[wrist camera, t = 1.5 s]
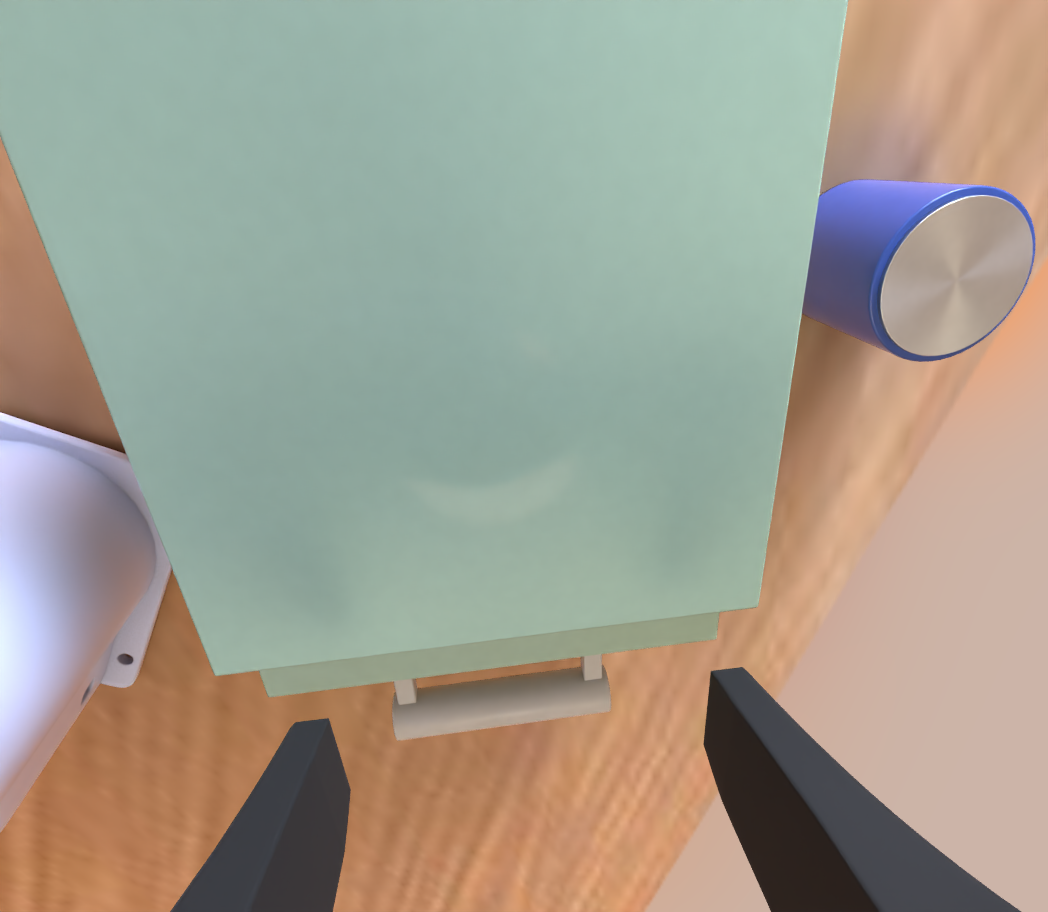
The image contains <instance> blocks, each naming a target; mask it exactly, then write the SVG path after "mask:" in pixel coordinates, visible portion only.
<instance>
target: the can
mask: <svg viewBox="0 0 1048 912" xmlns="http://www.w3.org/2000/svg"><path fill="white" fill-rule="evenodd" d="M1034 256H1035V233H1034V227H1033V224H1032V220H1031V218H1030V216H1029V214H1028V212H1027V210H1026V209H1025V207H1024V206H1023V205H1022V203H1021V202H1020V201H1019V200H1017V199H1016V198H1015V197H1014V196H1013V195H1011V194H1010V193H1008V192H1006V191H1004V190H1002V189H999V188H996V187H991V186H984V185H965V184H945V183H926V182H906V181H887V180H854V181H849V182H846V183H843V184H840V185H838V186H836V187H833V188H832V189H830V190H828V191H827V192H825V193H824V194H822V195H821V196H820V197H819V200H818V206H817V213H816V220H815V227H814V233H813V240H812V247H811V253H810V260H809V267H808V274H807V280H806V287H805V294H804V301H803V307H802V313H803V314H804V315H806V316H808V317H810V318H812V319H814V320H817V321H819V322H821V323H823V324H826V325H828V326H830V327H832V328H835V329H837V330H839V331H841V332H844V333H846V334H848V335H851V336H853V337H855V338H857V339H860V340H862V341H864V342H866V343H869V344H871V345H873V346H876V347H878V348H880V349H882V350H885V351H887V352H889V353H891V354H894V355H896V356H898V357H901V358H903V359H907V360H911V361H919V362H923V361H935V360H941V359H945V358H948V357H952V356H954V355H956V354H959V353H961V352H963V351H965V350H967V349H969V348H971V347H972V346H974V345H975V344H977V343H979V342H980V341H982V340H983V339H984V338H985V337H986V336H988V335H989V334H990V333H991V332H992V331H993V330H994V329H996V328H997V327H998V326H999V325H1000V324H1001V322H1002V321H1003V320H1004V319H1005V318H1006V317H1007V316H1008V314H1009V313H1010V312H1011V310H1012V309H1013V307H1014V306H1015V305H1016V303H1017V301H1018V300H1019V298H1020V296H1021V295H1022V293H1023V290H1024V288H1025V286H1026V284H1027V282H1028V279H1029V276H1030V274H1031V270H1032V266H1033V262H1034Z"/></svg>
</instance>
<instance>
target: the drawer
mask: <svg viewBox="0 0 1048 912" xmlns="http://www.w3.org/2000/svg"><path fill="white" fill-rule="evenodd" d="M718 621H719V612H718V613H710V614H702V615H694V616H686V617H678V618H670V619H662V620H654V621H647V622H639V623H631V624H623V625H615V626H607V627H599V628H591V629H584V630H576V631H568V632H560V633H552V634H544V635H536V636H528V637H520V638H513V639H505V640H497V641H489V642H481V643H473V644H465V645H457V646H450V647H442V648H434V649H426V650H418V651H410V652H402V653H394V654H386V655H379V656H371V657H363V658H355V659H347V660H339V661H331V662H323V663H316V664H308V665H300V666H292V667H284V668H276V669H268V670H260V671H259V673H260V675H261V678H262V681H263V684H264V687H265V690H266V693H267V695H268V697H277V696H285V695H292V694H300V693H308V692H315V691H323V690H331V689H338V688H346V687H354V686H362V685H369V684H377V683H385V682H392V681H393V682H394V687H395V691H396V692H395V693H394V696H393V706H392V715H393V728H394V734H395V737H396V740H398V741H400V740H407V739H415V738H422V737H429V736H436V735H444V734H451V733H458V732H466V731H473V730H480V729H487V728H495V727H502V726H509V725H516V724H524V723H531V722H538V721H545V720H553V719H560V718H567V717H574V716H582V715H589V714H596V713H603V712H609V711H610V710H611V694H610V687H609V682H608V677H607V673H606V670H605V668H604V666H603V665H602V654H607V653H615V652H622V651H630V650H638V649H645V648H653V647H661V646H668V645H676V644H684V643H692V642H699V641H707V640H715V639H716V638H717V630H718ZM576 657H581V667H577V668H569V669H561V670H554V671H546V672H539V673H531V674H523V675H516V676H508V677H501V678H493V679H485V680H478V681H470V682H463V683H455V684H447V685H440V686H432V687H425V688H417V684H416V678H423V677H431V676H438V675H446V674H454V673H461V672H469V671H477V670H484V669H492V668H500V667H507V666H515V665H523V664H530V663H538V662H546V661H553V660H561V659H569V658H576Z"/></svg>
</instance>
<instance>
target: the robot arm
mask: <svg viewBox="0 0 1048 912" xmlns="http://www.w3.org/2000/svg"><path fill="white" fill-rule="evenodd" d="M171 571H172V567H171V565H170V562H169V560H168V557H167V555H166V552H165V550H164V547H163V545H162V542H161V540H160V537H159V535H158V532H157V529H156V527H155V524H154V522H153V519H152V517H151V514H150V512H149V509H148V507H147V504H146V502H145V499H144V497H143V494H142V492H141V489H140V487H139V484H138V482H137V479H136V477H135V474H134V472H133V469H132V467H131V464H130V462H129V459H128V457H127V454H125V453H122V452H119V451H116V450H112V449H109V448H106V447H103V446H100V445H97V444H94V443H91V442H88V441H85V440H82V439H79V438H76V437H73V436H70V435H67V434H64V433H61V432H58V431H55V430H52V429H49V428H46V427H43V426H40V425H37V424H34V423H31V422H28V421H25V420H22V419H19V418H16V417H13V416H10V415H7V414H4V413H1V412H0V832H1V831H2V830H3V829H4V827H5V826H6V825H7V823H8V822H9V820H10V819H11V817H12V816H13V814H14V813H15V811H16V810H17V808H18V807H19V805H20V804H21V802H22V801H23V799H24V798H25V796H26V795H27V793H28V792H29V790H30V788H31V787H32V785H33V784H34V782H35V781H36V779H37V778H38V776H39V775H40V773H41V772H42V770H43V769H44V767H45V766H46V764H47V763H48V761H49V760H50V758H51V757H52V755H53V754H54V752H55V751H56V749H57V748H58V746H59V745H60V743H61V742H62V740H63V739H64V737H65V736H66V734H67V733H68V731H69V729H70V728H71V726H72V725H73V723H74V722H75V720H76V719H77V717H78V716H79V714H80V713H81V711H82V710H83V708H84V707H85V705H86V704H87V702H88V701H89V699H90V698H91V696H92V695H93V693H94V692H95V690H96V689H97V687H98V686H99V684H100V683H101V684H105V685H110V686H114V687H120V688H124V687H129V686H131V685H132V684H133V683H134V682H135V680H136V678H137V677H138V675H139V672H140V669H141V666H142V663H143V659H144V656H145V653H146V650H147V647H148V644H149V640H150V637H151V634H152V631H153V628H154V625H155V621H156V618H157V615H158V612H159V609H160V606H161V603H162V599H163V596H164V593H165V590H166V587H167V584H168V580H169V577H170V574H171ZM125 654H128V655H130V656H132V657H130V656H127V655H125ZM704 747H705V750H706V753H707V756H708V760H709V763H710V766H711V769H712V772H713V775H714V778H715V781H716V784H717V787H718V790H719V793H720V796H721V799H722V802H723V804H724V806H725V809H726V811H727V813H728V816H729V818H730V820H731V823H732V825H733V827H734V829H735V832H736V834H737V836H738V838H739V841H740V843H741V845H742V847H743V850H744V852H745V854H746V856H747V859H748V861H749V863H750V865H751V868H752V870H753V872H754V874H755V876H756V879H757V881H758V883H759V885H760V888H761V890H762V892H763V894H764V897H765V899H766V901H767V903H768V906H769V908H770V910H771V912H1021V911H1019V910H1018V909H1017V908H1015V907H1014V906H1012V905H1011V904H1010V903H1008V902H1007V901H1005V900H1004V899H1002V898H1001V897H1000V896H998V895H997V894H995V893H994V892H993V891H991V890H990V889H989V888H987V887H986V886H985V885H983V884H982V883H981V882H979V881H978V880H977V879H975V878H974V877H973V876H971V875H970V874H969V873H967V872H966V871H965V870H963V869H962V868H961V867H959V866H958V865H957V864H956V863H954V862H953V861H952V860H951V859H949V858H948V857H947V856H945V855H944V854H943V853H942V852H940V851H939V850H938V849H937V848H935V847H934V846H933V845H931V844H930V843H929V842H928V841H927V840H925V839H924V838H923V837H922V836H920V835H919V834H918V833H916V831H914V830H913V829H912V828H911V827H909V826H908V825H907V824H906V823H905V822H904V821H902V820H901V819H900V818H899V817H898V816H897V815H895V814H894V813H893V812H892V811H891V810H890V809H888V808H887V807H886V806H885V805H884V804H883V803H882V802H880V801H879V800H878V799H877V798H876V797H875V796H874V795H872V794H871V793H870V792H869V791H868V790H867V789H865V787H863V786H862V785H861V784H860V783H859V782H858V781H857V780H856V779H855V778H853V776H851V775H850V774H849V773H848V772H847V771H846V770H845V769H844V768H843V767H842V766H841V765H840V764H839V763H838V762H837V761H836V760H834V759H833V758H832V757H831V756H830V755H829V754H828V753H827V752H826V751H825V750H824V749H823V748H822V747H821V746H820V745H819V744H818V743H816V741H815V740H814V739H813V738H811V736H810V735H808V734H807V733H806V732H805V731H804V730H803V729H802V728H801V727H800V726H799V725H798V724H797V722H795V720H794V719H792V718H791V716H790V715H789V714H788V713H787V712H786V711H785V710H784V709H783V708H782V707H781V706H780V705H779V704H778V703H777V702H776V701H775V700H774V699H773V698H772V697H771V696H770V695H769V694H768V693H767V692H766V691H765V690H764V688H763V687H762V686H761V685H760V684H759V683H758V682H757V681H756V680H755V679H754V678H753V677H752V676H751V675H750V674H749V673H748V672H747V671H746V670H745V669H744V668H743V667H740V668H732V669H724V670H716V671H711V676H710V686H709V696H708V706H707V716H706V725H705V735H704ZM350 791H351V790H350V786H349V783H348V780H347V777H346V773H345V770H344V767H343V763H342V760H341V757H340V754H339V750H338V747H337V744H336V740H335V737H334V734H333V731H332V727H331V724H330V721H329V718H327V719H319V720H311V721H303V722H295V723H294V724H293V725H292V727H291V728H290V729H289V731H288V733H287V734H286V736H285V738H284V740H283V741H282V743H281V745H280V746H279V748H278V750H277V751H276V753H275V755H274V756H273V758H272V760H271V761H270V763H269V765H268V766H267V768H266V770H265V771H264V773H263V775H262V776H261V778H260V780H259V781H258V783H257V784H256V786H255V788H254V789H253V791H252V792H251V794H250V796H249V797H248V799H247V800H246V802H245V803H244V805H243V807H242V808H241V810H240V811H239V813H238V814H237V816H236V817H235V819H234V820H233V822H232V823H231V825H230V826H229V828H228V829H227V831H226V833H225V834H224V836H223V837H222V839H221V840H220V842H219V843H218V845H217V846H216V848H215V849H214V851H213V852H212V854H211V855H210V857H209V858H208V859H207V861H206V862H205V864H204V865H203V866H202V868H201V869H200V871H199V872H198V873H197V875H196V876H195V878H194V879H193V880H192V882H191V883H190V885H189V886H188V888H187V889H186V890H185V892H184V893H183V895H182V896H181V897H180V899H179V900H178V902H177V903H176V904H175V906H174V907H173V909H172V910H171V911H170V912H333V907H334V902H335V897H336V892H337V887H338V882H339V877H340V872H341V867H342V862H343V857H344V852H345V843H346V833H347V824H348V813H349V802H350Z"/></svg>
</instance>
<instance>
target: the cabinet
mask: <svg viewBox="0 0 1048 912" xmlns="http://www.w3.org/2000/svg"><path fill="white" fill-rule="evenodd" d="M847 4H848V0H0V137H1V140H2V142H3V145H4V147H5V150H6V152H7V155H8V157H9V160H10V162H11V165H12V167H13V170H14V172H15V175H16V177H17V180H18V183H19V185H20V188H21V190H22V193H23V195H24V198H25V200H26V203H27V205H28V208H29V210H30V213H31V215H32V218H33V220H34V223H35V225H36V228H37V230H38V233H39V235H40V238H41V240H42V243H43V245H44V248H45V250H46V253H47V255H48V258H49V260H50V263H51V265H52V268H53V271H54V273H55V276H56V278H57V281H58V283H59V286H60V288H61V291H62V293H63V296H64V298H65V301H66V303H67V306H68V308H69V311H70V313H71V316H72V318H73V321H74V323H75V326H76V328H77V331H78V333H79V336H80V338H81V341H82V343H83V346H84V348H85V351H86V353H87V356H88V359H89V361H90V364H91V366H92V369H93V371H94V374H95V376H96V379H97V381H98V384H99V386H100V389H101V391H102V394H103V396H104V399H105V401H106V404H107V406H108V409H109V411H110V414H111V416H112V419H113V421H114V424H115V426H116V429H117V431H118V434H119V436H120V439H121V441H122V444H123V447H124V449H125V452H126V454H127V457H128V459H129V462H130V464H131V467H132V469H133V472H134V474H135V477H136V479H137V482H138V484H139V487H140V489H141V492H142V494H143V497H144V499H145V502H146V504H147V507H148V509H149V512H150V514H151V517H152V519H153V522H154V524H155V527H156V529H157V532H158V535H159V537H160V540H161V542H162V545H163V547H164V550H165V552H166V555H167V557H168V560H169V562H170V565H171V567H172V570H173V572H174V575H175V577H176V580H177V582H178V585H179V587H180V590H181V592H182V595H183V597H184V600H185V602H186V605H187V607H188V610H189V612H190V615H191V617H192V620H193V623H194V625H195V628H196V630H197V633H198V635H199V638H200V640H201V643H202V645H203V648H204V650H205V653H206V655H207V658H208V660H209V663H210V665H211V668H212V670H213V673H214V675H215V676H221V675H229V674H237V673H245V672H253V671H260V670H268V669H276V668H284V667H292V666H300V665H308V664H316V663H323V662H331V661H339V660H347V659H355V658H363V657H371V656H379V655H386V654H394V653H402V652H410V651H418V650H426V649H434V648H442V647H450V646H457V645H465V644H473V643H481V642H489V641H497V640H505V639H513V638H520V637H528V636H536V635H544V634H552V633H560V632H568V631H576V630H584V629H591V628H599V627H607V626H615V625H623V624H631V623H639V622H647V621H654V620H662V619H670V618H678V617H686V616H694V615H702V614H710V613H718V612H725V611H733V610H741V609H749V608H756V607H758V604H759V597H760V590H761V584H762V577H763V570H764V564H765V557H766V550H767V543H768V537H769V530H770V523H771V516H772V510H773V503H774V496H775V489H776V483H777V476H778V469H779V462H780V456H781V449H782V442H783V435H784V429H785V422H786V415H787V408H788V402H789V395H790V388H791V382H792V375H793V368H794V361H795V355H796V348H797V341H798V334H799V328H800V321H801V314H802V307H803V301H804V294H805V287H806V280H807V274H808V267H809V260H810V253H811V247H812V240H813V233H814V227H815V220H816V213H817V206H818V200H819V193H820V186H821V179H822V173H823V166H824V159H825V152H826V146H827V139H828V132H829V125H830V119H831V112H832V105H833V98H834V92H835V85H836V78H837V72H838V65H839V58H840V51H841V45H842V38H843V31H844V24H845V18H846V11H847Z"/></svg>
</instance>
